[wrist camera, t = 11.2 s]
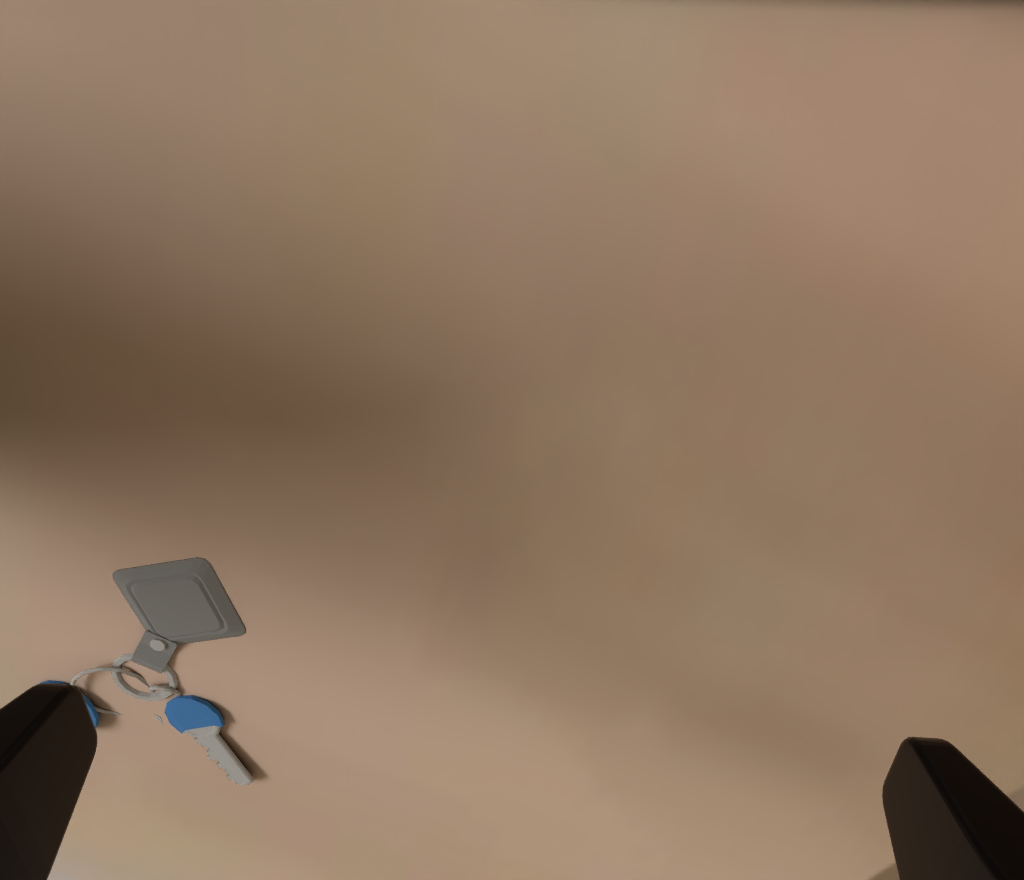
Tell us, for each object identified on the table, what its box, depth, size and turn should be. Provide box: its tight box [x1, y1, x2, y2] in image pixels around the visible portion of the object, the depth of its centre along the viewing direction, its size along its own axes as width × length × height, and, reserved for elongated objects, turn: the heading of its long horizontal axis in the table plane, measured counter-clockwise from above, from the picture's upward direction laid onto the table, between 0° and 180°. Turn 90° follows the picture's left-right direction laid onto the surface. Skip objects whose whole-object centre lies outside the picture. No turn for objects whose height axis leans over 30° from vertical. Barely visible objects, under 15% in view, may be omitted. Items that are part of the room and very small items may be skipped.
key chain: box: [40, 558, 254, 785], centre depth 27 cm, size 14×8×1 cm, turn 140°
